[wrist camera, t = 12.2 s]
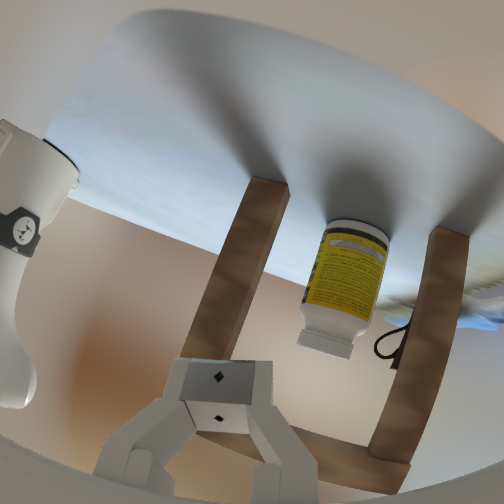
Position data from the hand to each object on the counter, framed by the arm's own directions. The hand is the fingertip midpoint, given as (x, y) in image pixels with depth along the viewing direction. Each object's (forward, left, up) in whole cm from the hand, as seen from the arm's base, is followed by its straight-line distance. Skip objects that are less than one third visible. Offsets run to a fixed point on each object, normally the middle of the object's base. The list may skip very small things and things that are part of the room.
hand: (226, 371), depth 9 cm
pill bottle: (+3, -17, -13) cm, 22 cm away
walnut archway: (+3, -12, -13) cm, 18 cm away
